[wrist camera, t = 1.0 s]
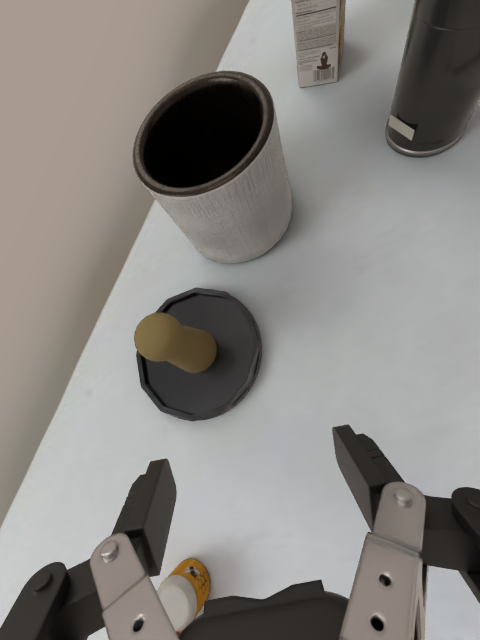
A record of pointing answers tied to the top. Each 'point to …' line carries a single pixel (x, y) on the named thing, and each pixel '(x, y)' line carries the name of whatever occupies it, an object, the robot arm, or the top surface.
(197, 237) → the planter
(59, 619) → the robot arm
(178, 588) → the toy food
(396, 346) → the top surface
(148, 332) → the cork
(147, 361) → the metal plate
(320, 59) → the coffee box
